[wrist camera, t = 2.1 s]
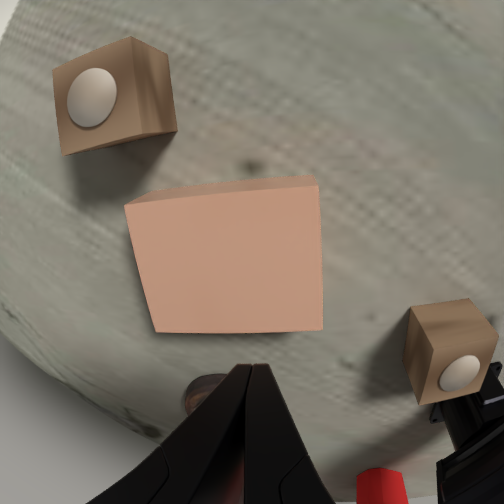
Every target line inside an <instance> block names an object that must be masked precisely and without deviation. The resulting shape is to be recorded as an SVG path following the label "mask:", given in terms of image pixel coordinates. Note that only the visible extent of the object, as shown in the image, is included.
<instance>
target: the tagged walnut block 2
mask: <svg viewBox="0 0 504 504" xmlns="http://www.w3.org/2000/svg"><path fill="white" fill-rule="evenodd" d="M498 338H499V335H498V333H497V332H496V331H495V329H494V328H493V327H492V326H491V324H490V323H489V322H488V321H487V319H486V318H485V317H484V316H483V315H482V313H481V312H480V311H479V310H478V308H477V307H476V306H475V305H474V304H473V302H472V301H471V300H470V299H469V298H468V299H461V300H455V301H448V302H441V303H434V304H427V305H419V306H412V307H410V315H409V322H408V329H407V336H406V343H405V349H404V355H403V360H402V361H403V363H404V366H405V369H406V371H407V374H408V377H409V379H410V382H411V385H412V388H413V390H414V393H415V396H416V399H417V402H418V405H424V404H429V403H434V402H438V401H443V400H447V399H451V398H455V397H459V396H463V395H467V394H471V393H475V392H478V391H479V390H480V388H481V385H482V383H483V380H484V378H485V375H486V373H487V370H488V367H489V365H490V362H491V359H492V356H493V353H494V350H495V347H496V344H497V341H498Z"/></svg>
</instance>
